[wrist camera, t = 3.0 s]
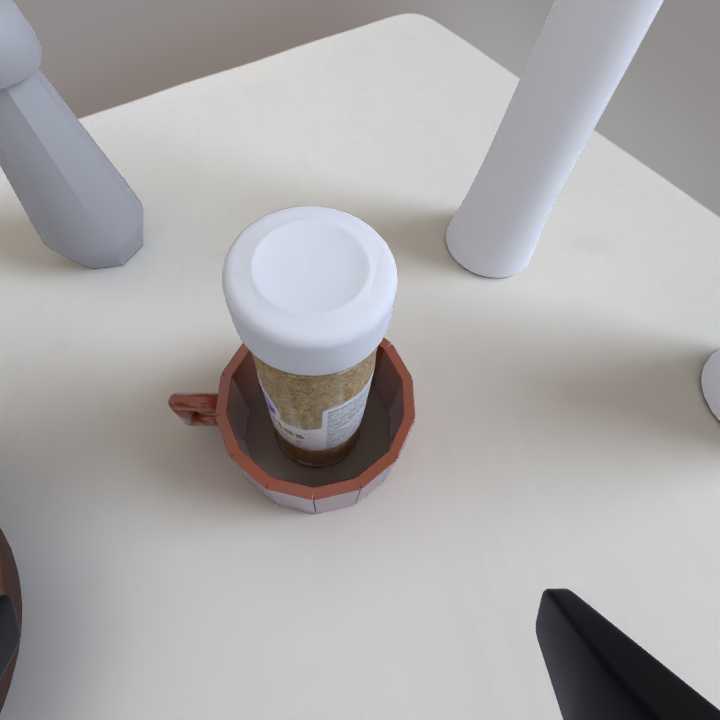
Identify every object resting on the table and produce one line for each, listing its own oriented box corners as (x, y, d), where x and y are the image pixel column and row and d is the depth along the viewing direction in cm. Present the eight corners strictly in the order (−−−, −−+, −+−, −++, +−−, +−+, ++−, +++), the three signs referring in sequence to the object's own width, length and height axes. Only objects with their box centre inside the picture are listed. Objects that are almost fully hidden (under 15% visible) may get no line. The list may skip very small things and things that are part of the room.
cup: (395, 356, 25) (408, 314, 21) (403, 514, 21) (420, 500, 17) (204, 351, 24) (179, 307, 20) (174, 514, 20) (137, 499, 16)
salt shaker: (156, 274, 26) (20, 40, 15) (55, 286, 25) (-172, 47, 14) (156, 206, 29) (40, -41, 17) (64, 215, 28) (-122, -39, 16)
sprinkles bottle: (258, 421, 23) (181, 249, 11) (326, 372, 24) (325, 175, 12) (311, 489, 21) (291, 380, 9) (379, 433, 23) (438, 277, 11)
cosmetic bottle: (429, 223, 30) (627, -449, 10) (501, 203, 31) (796, -422, 12) (472, 290, 27) (837, -417, 8) (548, 264, 29) (1017, -389, 9)
